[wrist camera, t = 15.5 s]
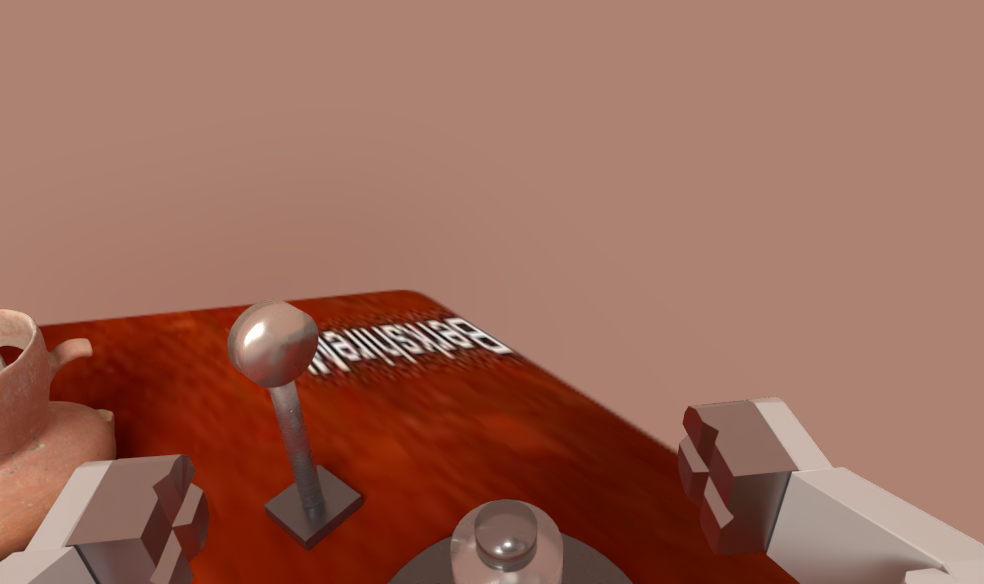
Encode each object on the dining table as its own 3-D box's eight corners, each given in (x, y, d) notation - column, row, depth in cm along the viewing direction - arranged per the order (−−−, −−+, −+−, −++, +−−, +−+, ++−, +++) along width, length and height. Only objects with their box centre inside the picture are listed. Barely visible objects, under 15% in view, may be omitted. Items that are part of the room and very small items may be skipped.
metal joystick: (266, 514, 46) (199, 311, 37) (321, 473, 50) (272, 276, 40) (308, 550, 44) (246, 340, 34) (363, 504, 47) (320, 301, 38)
